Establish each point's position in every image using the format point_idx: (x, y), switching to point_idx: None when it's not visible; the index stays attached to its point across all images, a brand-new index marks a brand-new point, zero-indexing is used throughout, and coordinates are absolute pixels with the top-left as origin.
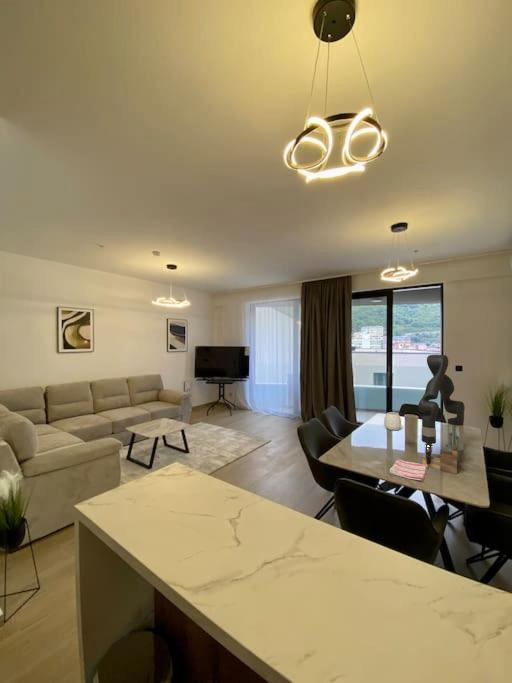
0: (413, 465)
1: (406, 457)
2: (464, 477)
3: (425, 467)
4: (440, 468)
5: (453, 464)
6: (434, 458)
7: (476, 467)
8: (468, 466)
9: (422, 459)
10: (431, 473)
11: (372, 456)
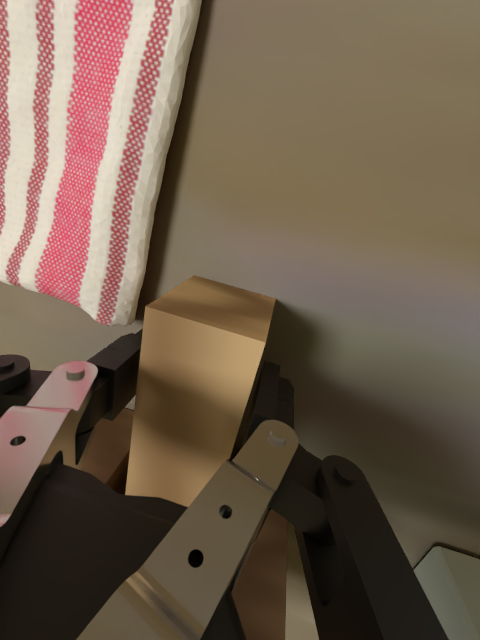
0: (68, 142)
1: (476, 53)
2: None
3: (15, 284)
4: (99, 422)
5: None
6: (180, 460)
7: (298, 635)
8: (303, 608)
9: (161, 296)
10: (14, 316)
11: None
